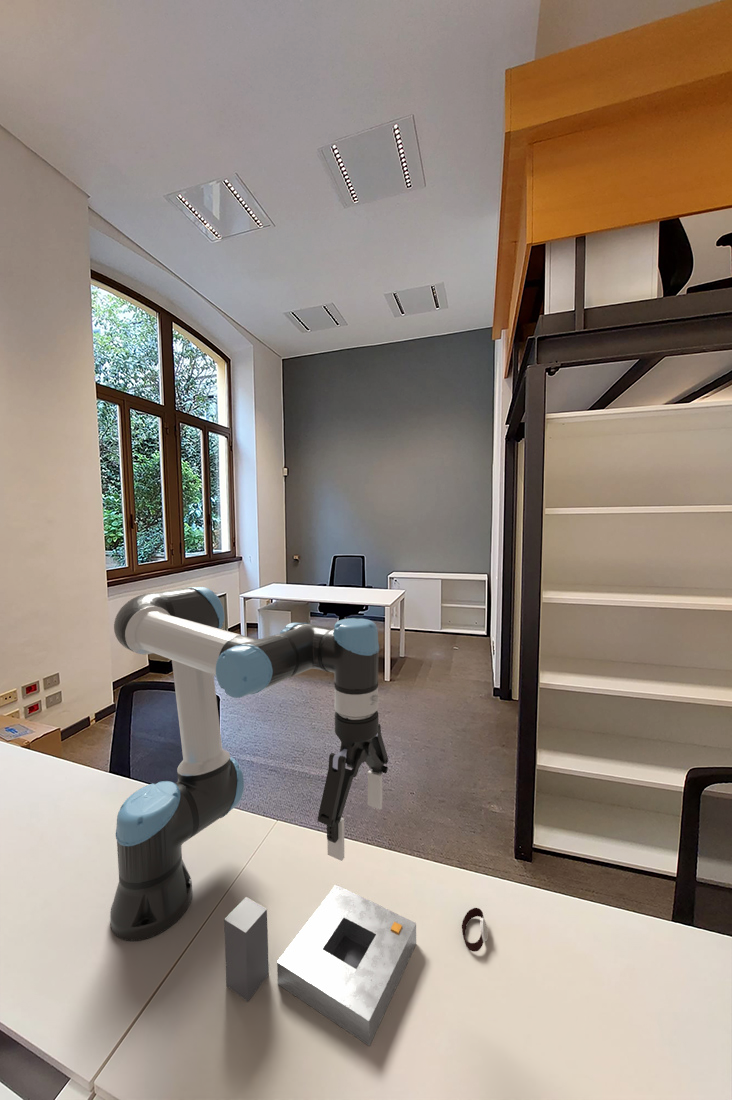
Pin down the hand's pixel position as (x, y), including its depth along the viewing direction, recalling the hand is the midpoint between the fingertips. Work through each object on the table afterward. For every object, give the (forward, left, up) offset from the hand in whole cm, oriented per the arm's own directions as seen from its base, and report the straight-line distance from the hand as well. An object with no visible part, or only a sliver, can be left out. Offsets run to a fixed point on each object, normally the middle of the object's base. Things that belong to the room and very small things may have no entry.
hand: (357, 829), depth 74 cm
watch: (+16, +16, -26) cm, 34 cm away
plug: (-16, -11, -25) cm, 32 cm away
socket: (-2, 0, -25) cm, 25 cm away
